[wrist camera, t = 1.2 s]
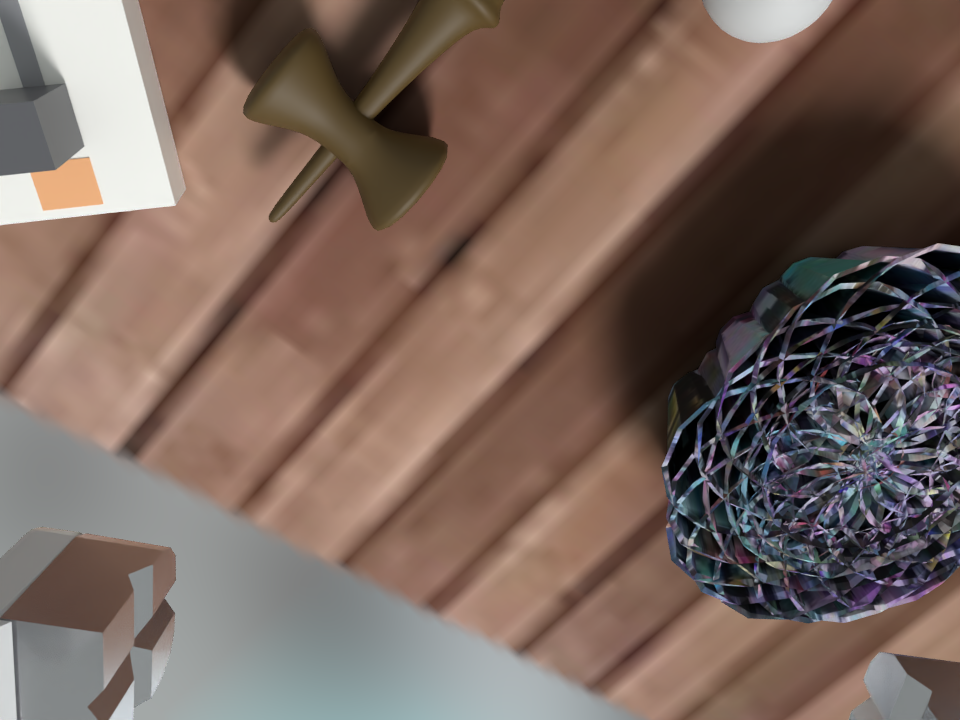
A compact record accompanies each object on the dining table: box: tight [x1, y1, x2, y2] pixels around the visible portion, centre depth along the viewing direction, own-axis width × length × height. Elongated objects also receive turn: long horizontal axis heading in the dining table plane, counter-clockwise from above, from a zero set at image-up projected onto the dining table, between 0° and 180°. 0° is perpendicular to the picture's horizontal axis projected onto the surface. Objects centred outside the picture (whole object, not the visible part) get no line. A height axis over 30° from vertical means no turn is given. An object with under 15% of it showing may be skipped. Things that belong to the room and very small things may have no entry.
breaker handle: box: [0, 84, 84, 176], centre depth 38 cm, size 3×3×4 cm
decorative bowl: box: [661, 243, 960, 623], centre depth 54 cm, size 26×28×10 cm
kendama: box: [243, 0, 505, 231], centre depth 41 cm, size 6×10×20 cm
